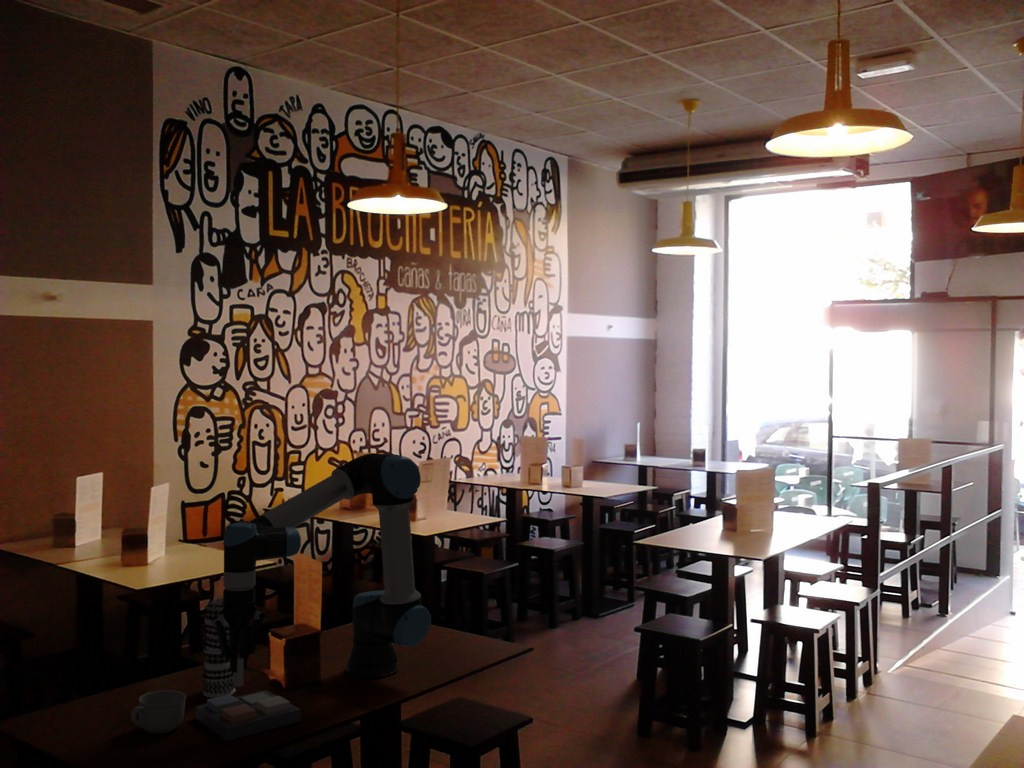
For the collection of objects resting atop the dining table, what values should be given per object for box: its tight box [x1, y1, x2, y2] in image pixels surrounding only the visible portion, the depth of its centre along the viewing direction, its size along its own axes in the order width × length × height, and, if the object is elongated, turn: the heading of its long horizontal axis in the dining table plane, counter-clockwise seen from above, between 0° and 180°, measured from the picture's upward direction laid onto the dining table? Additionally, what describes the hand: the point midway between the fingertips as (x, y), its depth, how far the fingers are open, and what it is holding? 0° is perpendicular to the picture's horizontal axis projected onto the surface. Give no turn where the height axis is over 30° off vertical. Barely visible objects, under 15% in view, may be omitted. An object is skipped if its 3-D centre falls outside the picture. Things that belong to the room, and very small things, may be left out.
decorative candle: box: [201, 598, 237, 699], centre depth 241 cm, size 9×9×25 cm
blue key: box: [206, 694, 240, 714], centre depth 221 cm, size 6×6×3 cm
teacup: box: [130, 689, 187, 735], centre depth 213 cm, size 14×11×8 cm
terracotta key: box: [222, 704, 256, 725], centre depth 215 cm, size 6×6×3 cm
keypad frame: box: [195, 689, 302, 742], centre depth 221 cm, size 19×19×3 cm
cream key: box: [256, 695, 291, 716], centre depth 220 cm, size 6×6×3 cm
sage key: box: [241, 692, 271, 706], centre depth 227 cm, size 6×6×3 cm
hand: (238, 684), depth 215 cm, fingers closed
